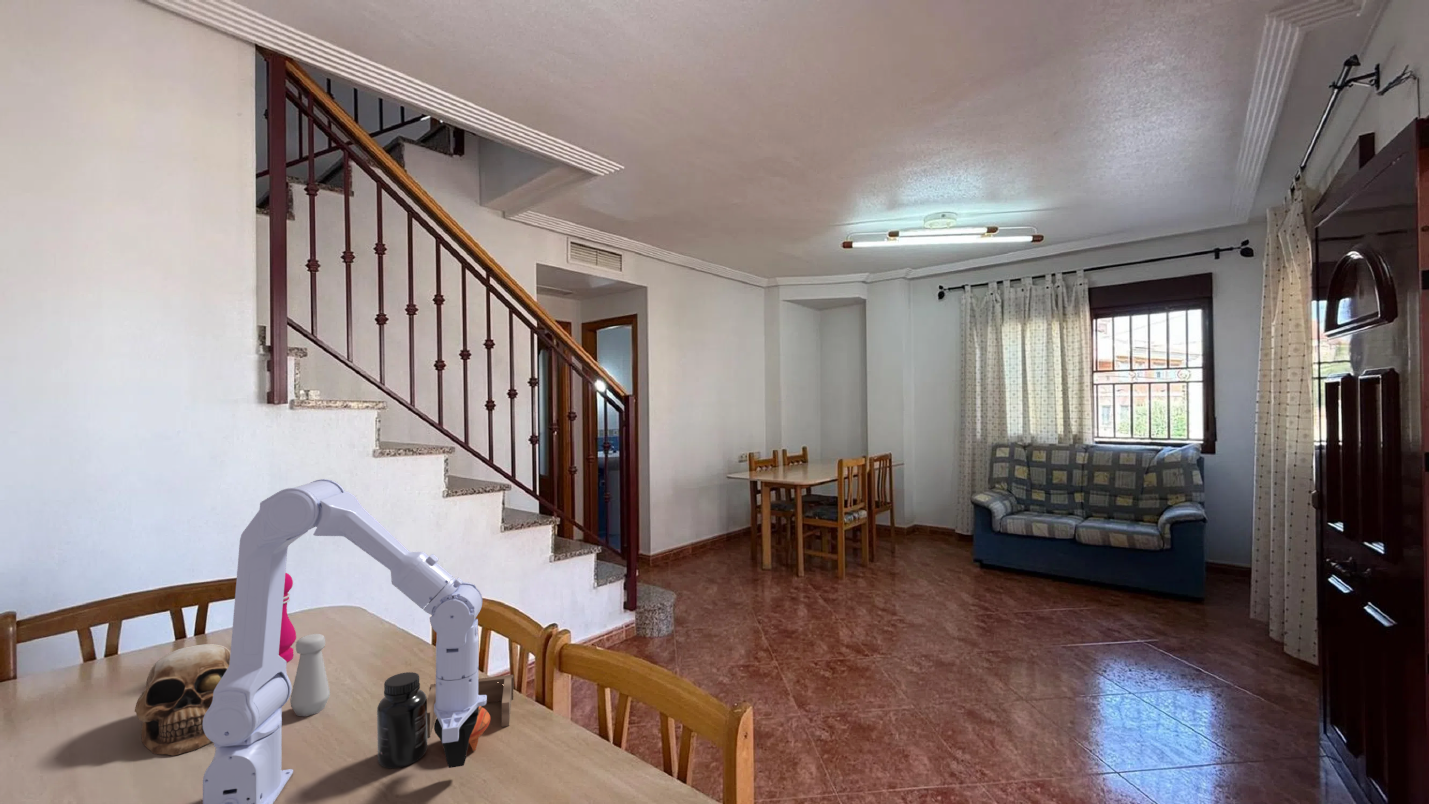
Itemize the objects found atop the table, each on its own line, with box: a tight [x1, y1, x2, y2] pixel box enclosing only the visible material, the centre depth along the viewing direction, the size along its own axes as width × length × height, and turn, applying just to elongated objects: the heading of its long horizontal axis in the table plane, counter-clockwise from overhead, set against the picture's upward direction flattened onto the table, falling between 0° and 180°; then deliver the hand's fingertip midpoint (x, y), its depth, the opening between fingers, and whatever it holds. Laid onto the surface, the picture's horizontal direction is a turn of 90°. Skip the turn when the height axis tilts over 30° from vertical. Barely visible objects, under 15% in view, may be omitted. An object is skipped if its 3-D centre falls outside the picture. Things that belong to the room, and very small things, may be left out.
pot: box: [441, 706, 492, 752], centre depth 95 cm, size 8×8×7 cm
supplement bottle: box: [376, 671, 428, 769], centre depth 91 cm, size 7×7×12 cm
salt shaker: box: [289, 633, 331, 717], centre depth 104 cm, size 6×6×13 cm
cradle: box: [427, 674, 514, 738], centre depth 103 cm, size 10×14×4 cm
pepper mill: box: [279, 572, 297, 663], centre depth 123 cm, size 7×7×20 cm
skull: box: [134, 643, 231, 757], centre depth 100 cm, size 16×17×13 cm
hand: (456, 764), depth 86 cm, fingers closed
